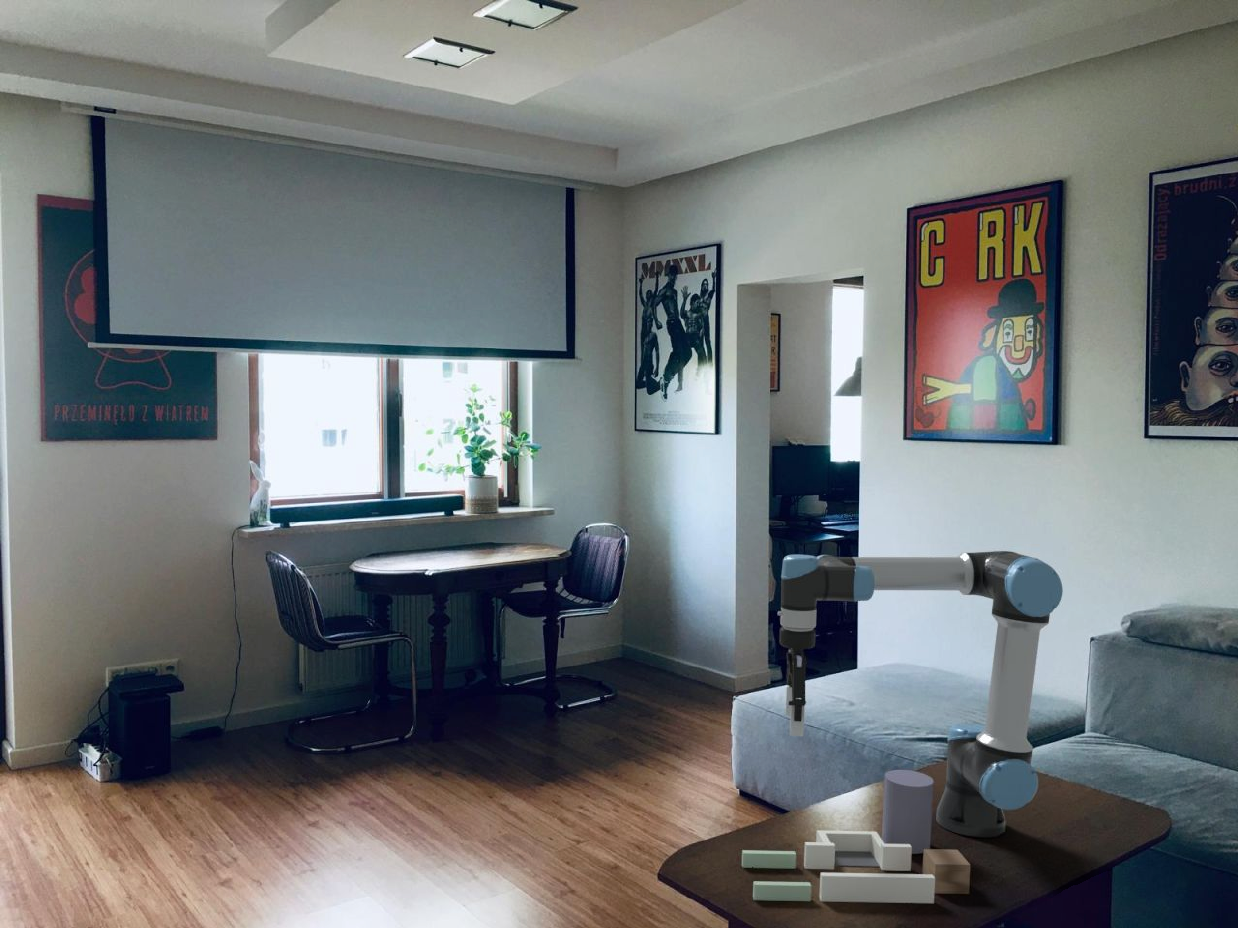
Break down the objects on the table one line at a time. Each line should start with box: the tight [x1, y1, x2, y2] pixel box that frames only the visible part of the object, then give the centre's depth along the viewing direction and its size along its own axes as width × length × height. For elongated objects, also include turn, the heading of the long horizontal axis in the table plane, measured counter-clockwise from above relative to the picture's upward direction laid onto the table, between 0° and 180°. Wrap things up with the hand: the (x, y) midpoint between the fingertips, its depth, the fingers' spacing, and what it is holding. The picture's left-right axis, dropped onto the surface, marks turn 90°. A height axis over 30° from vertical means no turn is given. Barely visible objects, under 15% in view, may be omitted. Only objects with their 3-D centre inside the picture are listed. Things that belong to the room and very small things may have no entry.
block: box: [921, 848, 971, 895], centre depth 205 cm, size 7×7×6 cm
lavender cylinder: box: [881, 769, 934, 855], centre depth 224 cm, size 10×10×15 cm
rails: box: [741, 849, 813, 902], centre depth 204 cm, size 11×16×3 cm
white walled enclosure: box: [803, 829, 935, 904], centre depth 209 cm, size 22×24×5 cm
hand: (794, 725), depth 219 cm, fingers open, 13 cm apart
